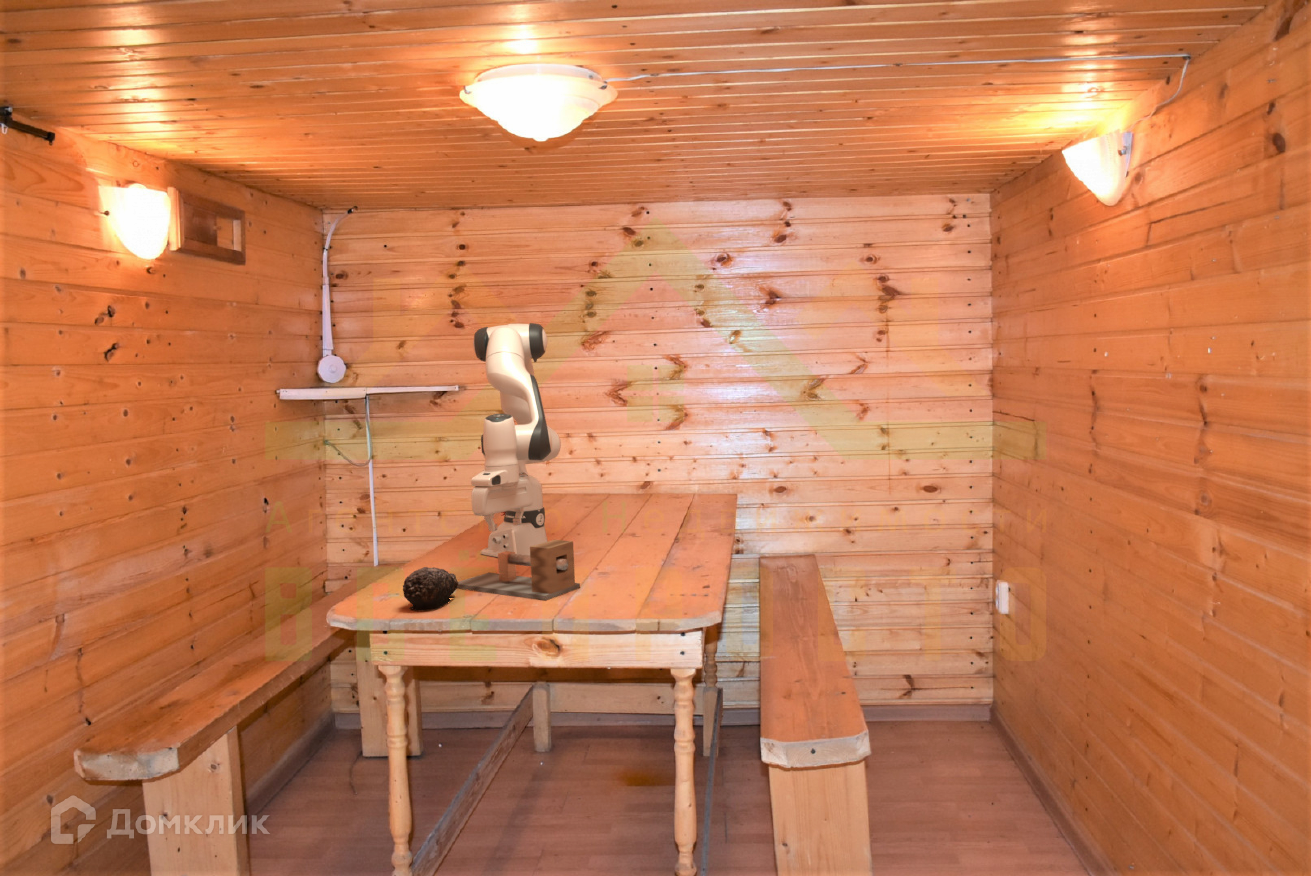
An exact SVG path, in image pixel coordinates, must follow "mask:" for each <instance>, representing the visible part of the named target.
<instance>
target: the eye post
mask: <svg viewBox="0 0 1311 876" xmlns="http://www.w3.org/2000/svg"><path fill="white" fill-rule="evenodd" d="M547 541H548V542H545V543H541V544H538V545H534V546H531V547H530V560H531V566H530V572H531V573H530V575H531V577H529V576H522V575H516V578H517V579H514V580H511V581H502V580H499V572H498V573H495V572H487V573H483V574H480V575H476V576H472V577H470V578H466V579H462V580H460V581H459V580H458V583H459V584H458V586H457V588H456V589H458V590H459V589H460V590H466V589H468V591H473V590H474V592H481V593H489V594H497V595H503V596H511V597H519V598H525V599H532V600H540V601H547V600H550V599H553V598H557V597H559V596H562V595H565V594H567V593H570V592H572V591H575V590H579V589H580V588H581V583H579V582H576V576H575V575H576V574H575V556H574V555H575V554H574V553H575V552H574V551H575V550H574V540H573V541H572V540H564V539H552V540H547ZM556 558H560V559H567V561H568V568H567V569H566V570H558V569H556Z"/></svg>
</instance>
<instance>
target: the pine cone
mask: <svg viewBox="0 0 1311 876" xmlns="http://www.w3.org/2000/svg"><path fill="white" fill-rule="evenodd" d="M458 582H459V580H458V579H457V577H456V574H455V573H451V572H449V571H447V570H446V569H444V568H439V567H428V566H424V567H422V568H419V569H416V570H414V571H412V572H411V573H410V574H409V575H408V576H407V577H406V578H405V579H404V582H403V585H402V591H403V597H404V598H405V599H406V600H407V602H409V603H410V604H411V605H412V606H410V607H409V609H410V610H413V611H420V612H428V611H429V612H430V611H435V610H438V609H441V608H442V607H444V606H447V605H448V604H449V603H451V600H450V599H449V598H454V599H455V598H456V596H453V594H454V592H456V590H457V589H458V588H457V586H458V584H459V583H458ZM448 602H449V603H448Z"/></svg>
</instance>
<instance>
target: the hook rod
mask: <svg viewBox="0 0 1311 876" xmlns="http://www.w3.org/2000/svg"><path fill="white" fill-rule="evenodd" d="M497 562H498V574H499V580H502V581H511V580H514V579H517V578H516V576H517V566H522V567H523V566H524V567H531V560H530V555H522V554H515V552H510V551H505V552H501V553H498V557H497ZM567 568H568V561H567V559H560V558H556V569H558V570H566V569H567Z"/></svg>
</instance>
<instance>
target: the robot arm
mask: <svg viewBox="0 0 1311 876" xmlns="http://www.w3.org/2000/svg"><path fill="white" fill-rule="evenodd" d="M472 347H473V351H474V353H475V356H476V358H477V359H478V360H479V361H481V362H485V375H486V380H487V381H488V383H489V384H490V385H491V386H492V387H493V388H494V389H495V390H496V391H498V392H499V397H500V398H499V399H500V408H501V411H502V412H503V413H494V414H490V415H487V416H485V418H484V421H483V430H482V431H483V432H482V435H481V436H480V446H481V447H480V448H481V453H482V455H483V458H484V459H485V461H484V470H482V471H480V472H479V473H477V474H476V475H475V476H473V477H472V478H471V479H470V484H471V486H472V487H473V488H472V491H471V511H472V513H473V514H474V516H477V517H483V518H484V520H485V522H486V524H487V525H488V527H487V528H488V531H489V532H490V533H489V536H488V540H487V547H486V548H483V549H481V550H480V555H484V556H488V557H489V556H490V557H494V558H498V553H501V552H505V551H510V552H515V554H522V555H530V547H531V546H534V545H538V544H541V543H545V542H548V541H549V540H548V537H547V531H546V526H545V523H546V522H545V521H546V510H545V507H544V501H543V500H544V499H543V497H544V495H543V485H542V483H541V481H540V480H539V479H538V478H536V477H535V476H533V475H530V474H529V473H528V471H527V467H526V465H529V464H530V465H531V464H540V463H544V462H549V461H550V460H553V459H556V458H557V457H558V456H559V454H560V451H561V448H562V447H561V446H562V444H561V443H562V442H561V438H560V436H559V434H558V433H557V431H556V430H555V429H553V428H552V427H550V426H549V425H548V423H547V419H546V415H545V410H544V405H543V401H542V395H541V393H540V388H539V384H538V381H537V378H536V375H535V370H534V365H533V362H534V363H537V361H538V360H539V359H541V358H542V357H543V355H545V353H546V350H547V348H548V335H547V333H546V331H545V329H544V326H543V325H541V324H539V323H536V322H535V323H534V322H529V323H508V324H501V325H495V326H491V327H490V326H489V327H488V326H485V327H481V328H478V329H477V330H476V332H475V333H474V336H473V341H472ZM532 359H533V360H532ZM499 513H501V515H500V516H504V517H503V521H502V522H501V523H500V524H499V525H498V523H495V521H494V519H495V514H499Z"/></svg>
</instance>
